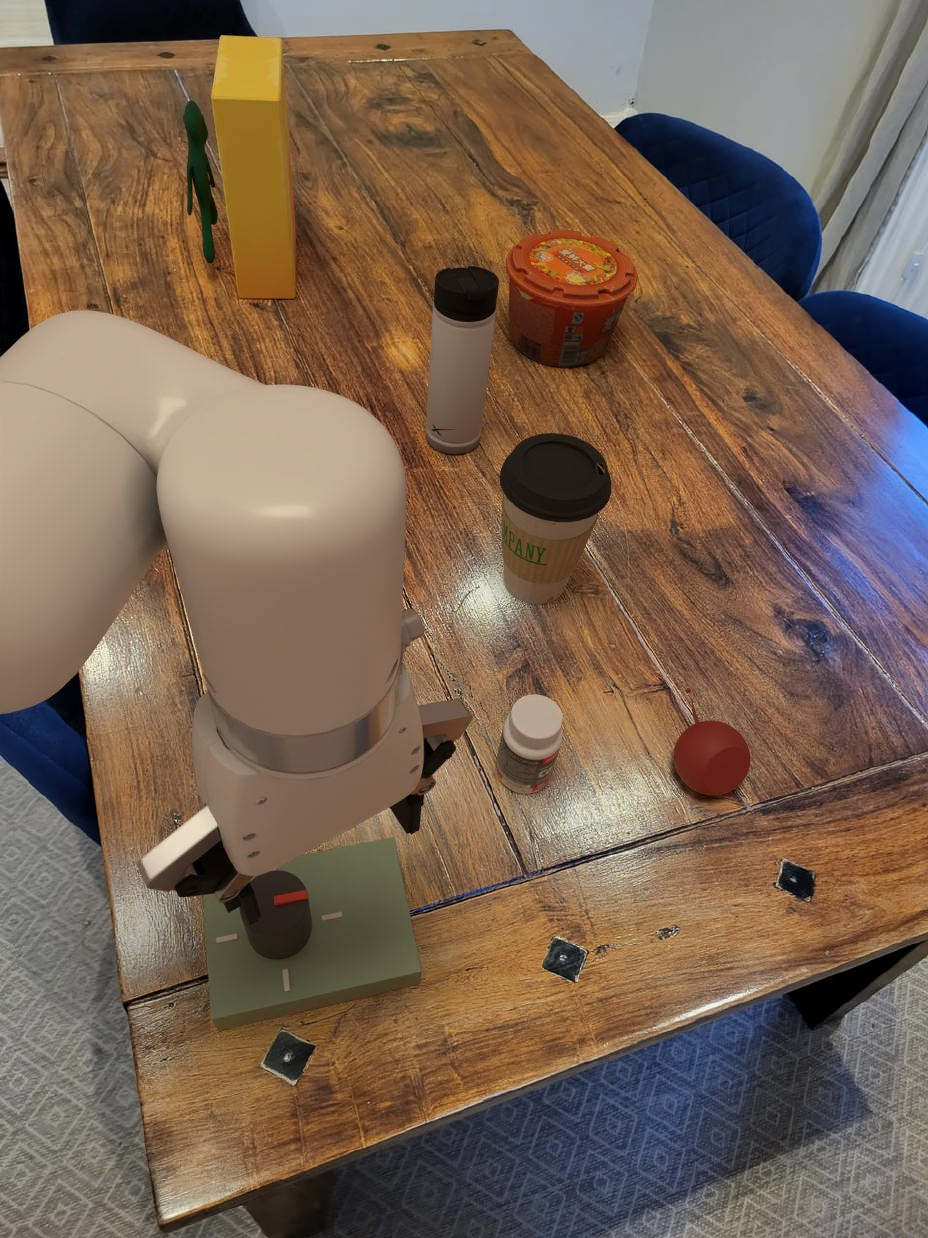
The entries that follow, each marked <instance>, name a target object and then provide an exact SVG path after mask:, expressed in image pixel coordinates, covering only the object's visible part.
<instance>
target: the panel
mask: <svg viewBox="0 0 928 1238" xmlns="http://www.w3.org/2000/svg"><path fill="white" fill-rule="evenodd" d="M274 870H282V871H287V872H290V873H292V874H294V875H295V876H297V877H298V878H299V879H300V880H301V881H302V882H303V884H304V885H305V887H306V890H307V893H308V899H309V905H310V911H311V918H312V931H311V935H310V937H309V940H308V941H307V943H306V945H305V946H304V947H303V948H302V949H301V950H300V951H299V952H297V953H296V954H294V955H293V956H291V957H288V958H285V959H280V960H274V959H268V958H265V957H263V956H261V955H260V954H258V953H257V952H256V951H255V950H254V949H253V947H252V946H251V944H250V942H249V939H248V936H247V933H246V930H245V927H244V924H243V921H242V918H241V915H240V910H239V907H238V908H237V909H235V910H233V911H231V912H229V913H228V912H227V910H226V908H225V906H224V904H223V903H220V902H219V901H218V900H217V898H216V895H215V894H207V895H202V903H203V918H204V932H205V933H204V934H205V935H204V936H205V949H206V963H207V964H206V965H207V976H208V979H207V981H208V991H209V993H208V996H209V1009H210V1020H211V1022H212V1023H213V1025H214V1027H215V1029H216V1031H218V1032H221V1031H225V1030H229V1029H233V1028H237V1027H242V1026H246V1025H250V1024H255V1023H259V1022H263V1021H267V1020H272V1019H276V1018H280V1017H284V1016H289V1015H294V1014H297V1013H301V1012H306V1011H310V1010H314V1009H319V1008H323V1007H328V1006H331V1005H336V1004H341V1003H346V1002H349V1001H354V1000H358V999H362V998H366V997H370V996H375V995H379V994H384V993H388V992H392V991H396V990H397V991H398V990H401V989H405V988H409V987H414V986H418V985H421V980H422V973H423V970H422V969H423V968H422V964H421V963H422V962H421V958H420V955H419V949H418V944H417V941H416V936H415V930H414V926H413V921H412V917H411V916H412V915H411V911H410V907H409V902H408V897H407V893H406V887H405V882H404V877H403V873H402V868H401V864H400V858H399V854H398V848H397V844H396V840H395V837H394V836H392V837H388V838H382V839H376V840H371V841H366V842H362V843H357V844H352V845H351V844H350V845H345V846H341V847H335V848H330V849H326V850H321V851H315V852H310V853H305V854H303V855H301V856H299V857H297V858H295V859H294V860H292V861H290V862H288V863H286V864H284V865H282V866H280V867H278V868H276V869H274ZM272 871H273V870H272ZM255 877H257V876H254V877H253V878H252V879H251V880H250V881H252V880H253V879H254V878H255Z"/></svg>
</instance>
